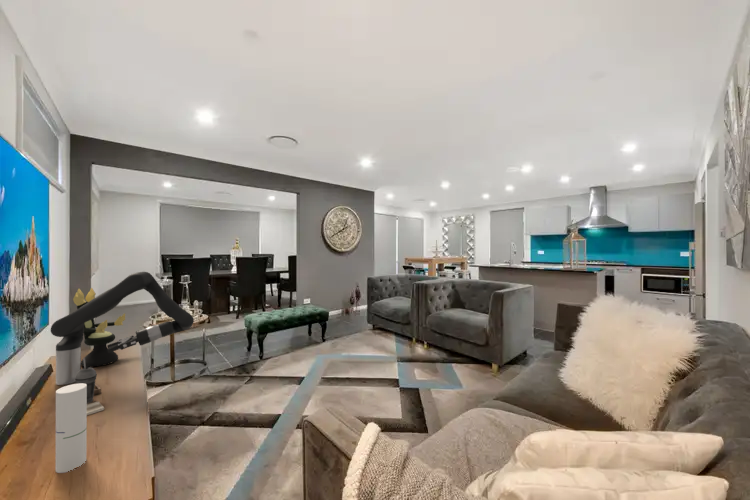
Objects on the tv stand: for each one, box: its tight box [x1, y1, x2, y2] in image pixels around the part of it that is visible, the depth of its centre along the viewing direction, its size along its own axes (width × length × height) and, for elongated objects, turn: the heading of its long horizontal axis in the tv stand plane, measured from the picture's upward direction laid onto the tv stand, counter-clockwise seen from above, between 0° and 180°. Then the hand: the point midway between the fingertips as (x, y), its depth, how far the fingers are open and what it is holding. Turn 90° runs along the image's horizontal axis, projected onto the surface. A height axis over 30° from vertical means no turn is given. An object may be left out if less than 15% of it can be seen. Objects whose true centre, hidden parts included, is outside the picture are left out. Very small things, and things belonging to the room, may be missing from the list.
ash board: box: [87, 400, 105, 416], centre depth 131 cm, size 9×12×1 cm
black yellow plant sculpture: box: [72, 287, 126, 368], centre depth 184 cm, size 19×22×45 cm
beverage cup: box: [75, 357, 97, 404], centre depth 139 cm, size 7×7×20 cm
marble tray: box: [94, 382, 102, 396], centre depth 147 cm, size 9×9×4 cm
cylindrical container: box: [55, 383, 88, 474], centre depth 100 cm, size 7×7×25 cm
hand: (107, 349), depth 145 cm, fingers open, 8 cm apart
